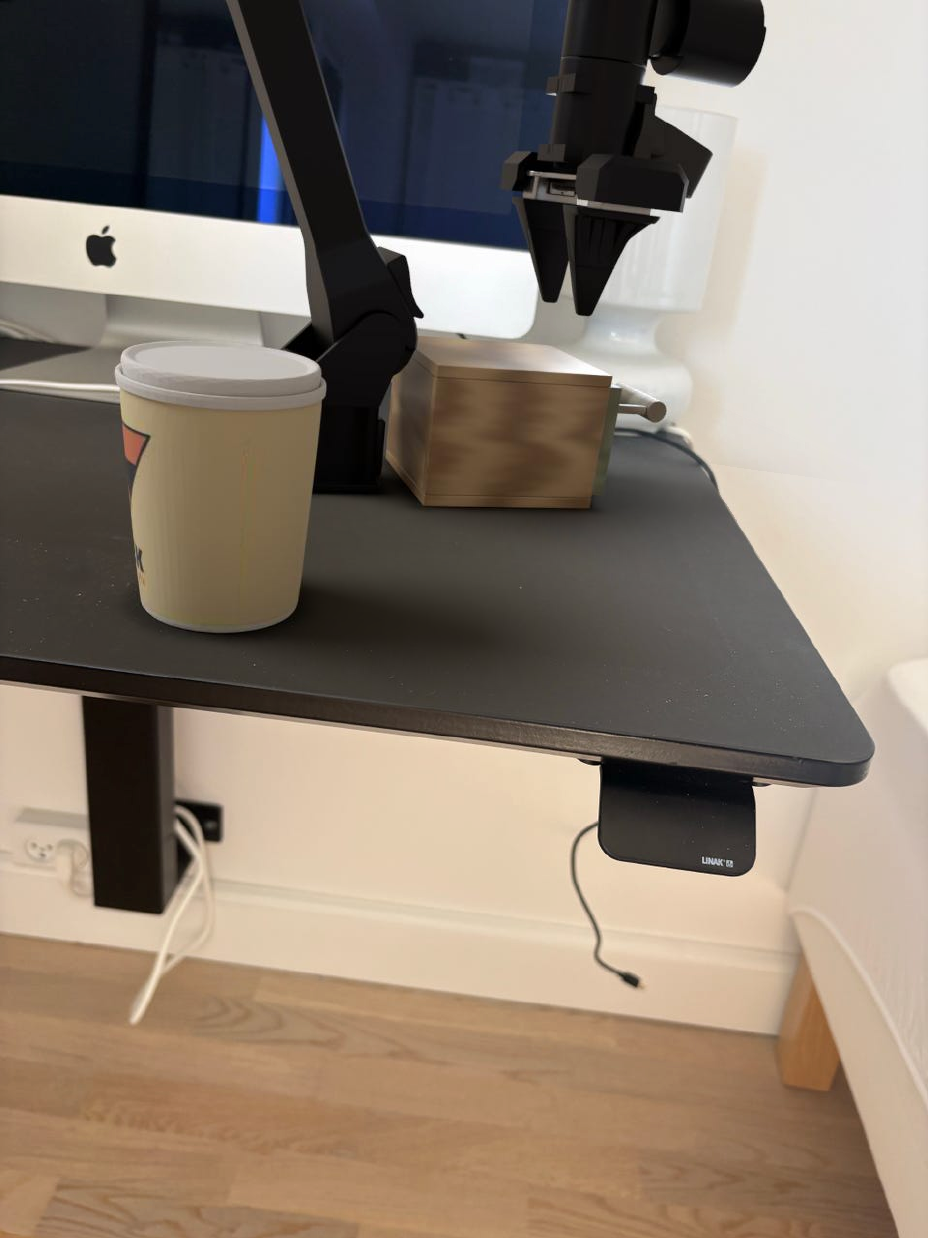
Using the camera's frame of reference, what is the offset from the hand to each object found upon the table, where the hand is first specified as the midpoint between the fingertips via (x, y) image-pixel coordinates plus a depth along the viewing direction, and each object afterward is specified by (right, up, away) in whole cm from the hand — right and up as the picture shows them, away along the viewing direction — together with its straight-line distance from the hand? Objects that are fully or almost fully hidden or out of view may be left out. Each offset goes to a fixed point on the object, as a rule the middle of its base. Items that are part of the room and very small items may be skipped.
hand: (565, 308), depth 70 cm
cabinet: (-6, -12, +3) cm, 14 cm away
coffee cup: (-20, -22, -22) cm, 37 cm away
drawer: (-2, -11, +4) cm, 12 cm away
